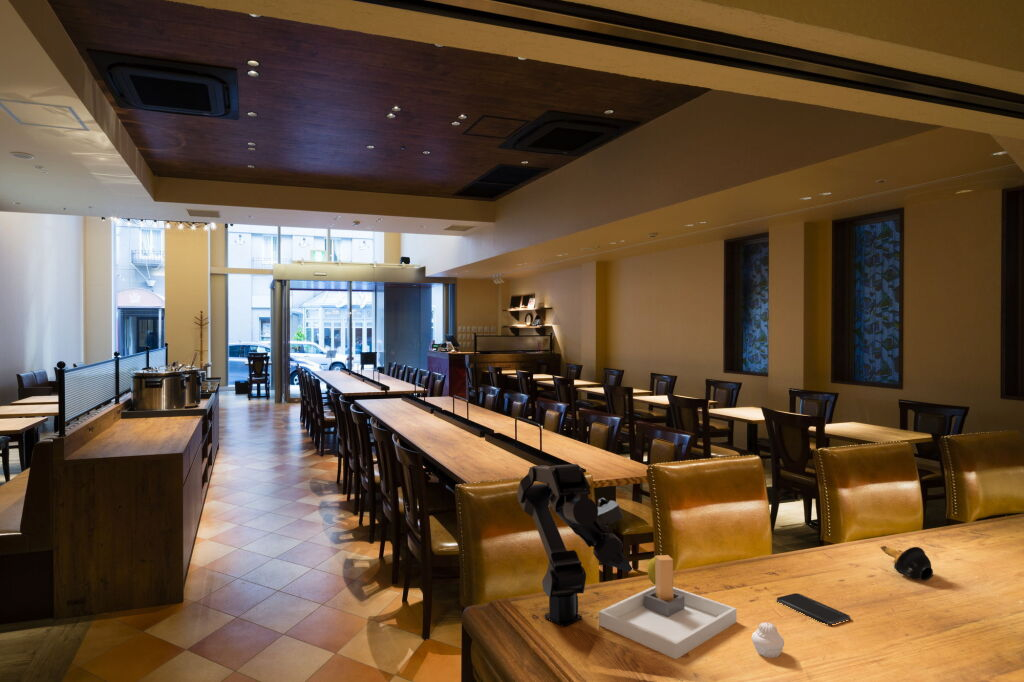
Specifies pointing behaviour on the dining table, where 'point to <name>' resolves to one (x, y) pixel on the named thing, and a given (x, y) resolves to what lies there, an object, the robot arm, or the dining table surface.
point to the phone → (813, 609)
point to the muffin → (768, 640)
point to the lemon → (651, 570)
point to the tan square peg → (664, 577)
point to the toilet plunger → (911, 562)
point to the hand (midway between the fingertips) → (624, 562)
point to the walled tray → (668, 620)
